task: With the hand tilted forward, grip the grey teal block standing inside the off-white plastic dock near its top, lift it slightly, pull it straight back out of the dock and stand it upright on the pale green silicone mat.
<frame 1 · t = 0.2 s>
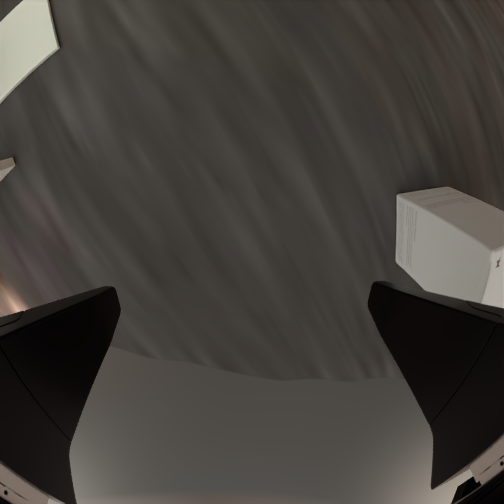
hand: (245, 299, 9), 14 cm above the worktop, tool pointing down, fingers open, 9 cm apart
mat: (16, 43, 13), on the worktop
supplement box: (422, 222, 24), on the worktop
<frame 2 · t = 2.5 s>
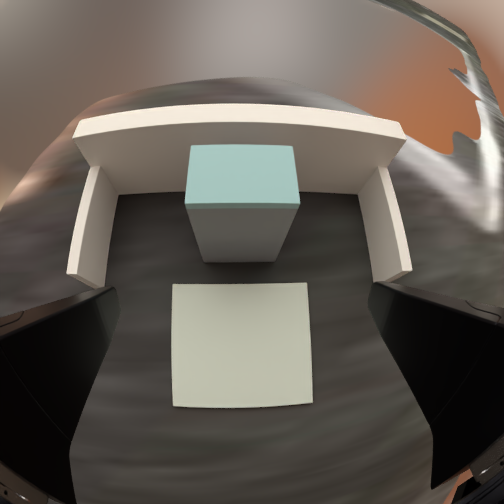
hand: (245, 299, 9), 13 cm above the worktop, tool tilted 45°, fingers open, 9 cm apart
mat: (241, 346, 21), on the worktop
grey teal block: (239, 240, 24), on the worktop
dock: (239, 239, 24), on the worktop
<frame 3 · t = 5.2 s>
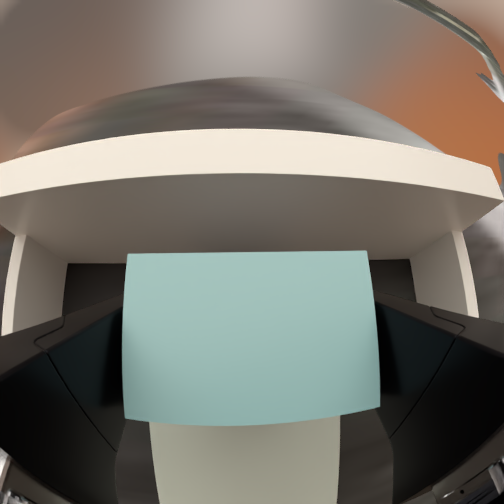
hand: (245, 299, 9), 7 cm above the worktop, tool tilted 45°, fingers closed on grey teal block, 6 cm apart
mat: (247, 483, 12), on the worktop
grey teal block: (242, 345, 15), on the worktop, touching gripper
dock: (242, 346, 15), on the worktop
when the fingers open (8 cm above the worktop, at t = 8.6 s): grey teal block stays where it is, resting on mat.
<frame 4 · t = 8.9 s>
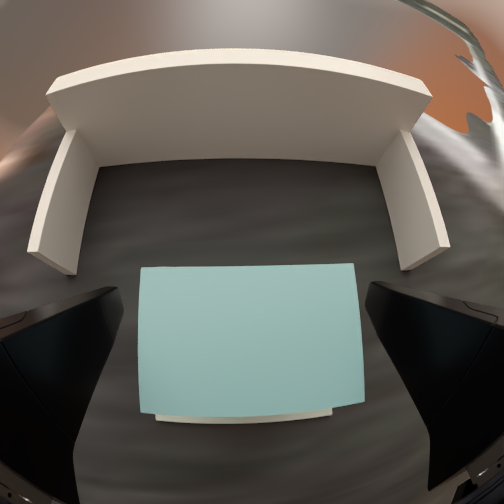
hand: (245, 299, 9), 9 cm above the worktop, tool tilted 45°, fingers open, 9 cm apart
mat: (241, 345, 17), on the worktop
grey teal block: (242, 346, 16), resting on mat
dock: (238, 213, 20), on the worktop
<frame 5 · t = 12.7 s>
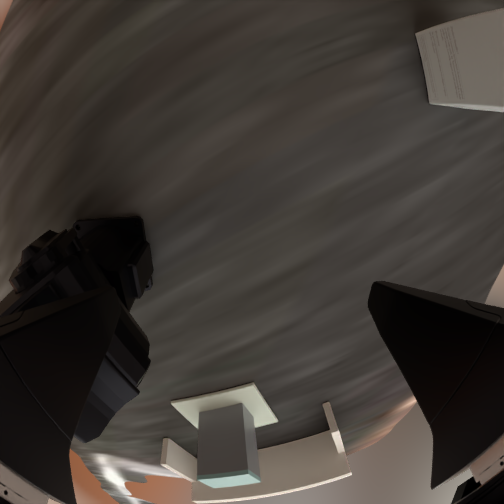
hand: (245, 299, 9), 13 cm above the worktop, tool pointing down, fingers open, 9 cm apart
mat: (226, 412, 32), on the worktop
grey teal block: (226, 415, 32), resting on mat
dock: (250, 438, 36), on the worktop
supplement box: (446, 71, 17), on the worktop
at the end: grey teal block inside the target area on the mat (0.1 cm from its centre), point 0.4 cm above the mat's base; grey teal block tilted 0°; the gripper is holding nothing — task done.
